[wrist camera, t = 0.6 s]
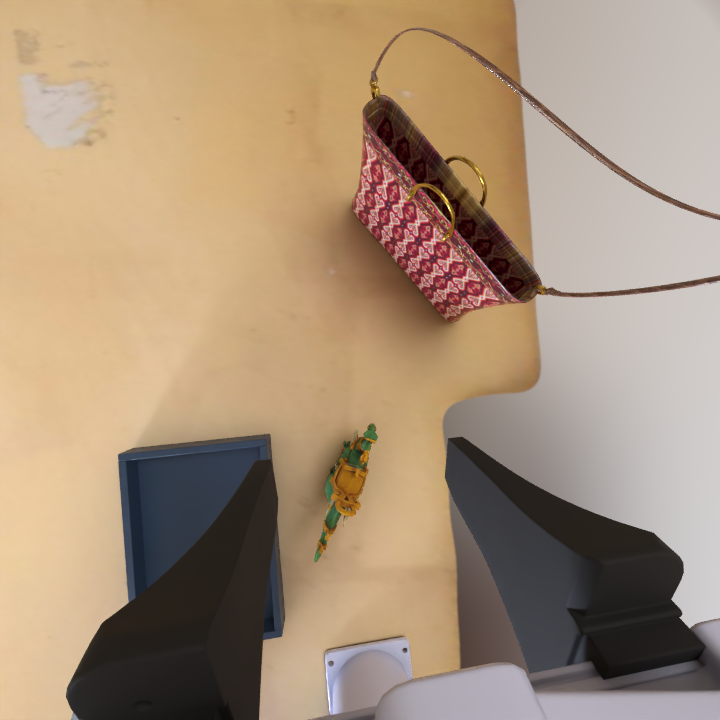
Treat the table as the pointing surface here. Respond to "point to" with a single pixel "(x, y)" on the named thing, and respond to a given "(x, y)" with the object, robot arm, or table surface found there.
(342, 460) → the figurine
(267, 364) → the table surface
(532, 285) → the handbag
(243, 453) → the tray
